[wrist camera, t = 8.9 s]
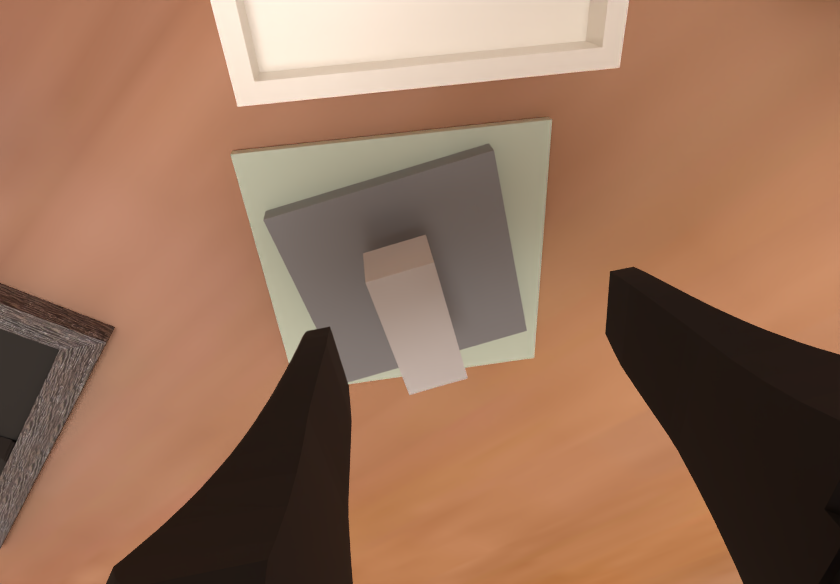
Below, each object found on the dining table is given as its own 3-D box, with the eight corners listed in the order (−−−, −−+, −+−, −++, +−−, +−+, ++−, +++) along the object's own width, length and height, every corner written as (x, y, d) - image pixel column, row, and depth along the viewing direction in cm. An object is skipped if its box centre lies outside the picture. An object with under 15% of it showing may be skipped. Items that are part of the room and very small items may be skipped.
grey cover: (488, 143, 20) (522, 187, 16) (521, 320, 25) (553, 384, 21) (265, 210, 20) (250, 269, 17) (343, 372, 25) (344, 444, 22)
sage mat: (548, 116, 20) (552, 119, 20) (531, 352, 27) (534, 357, 26) (232, 150, 19) (230, 154, 19) (297, 385, 26) (296, 391, 26)
